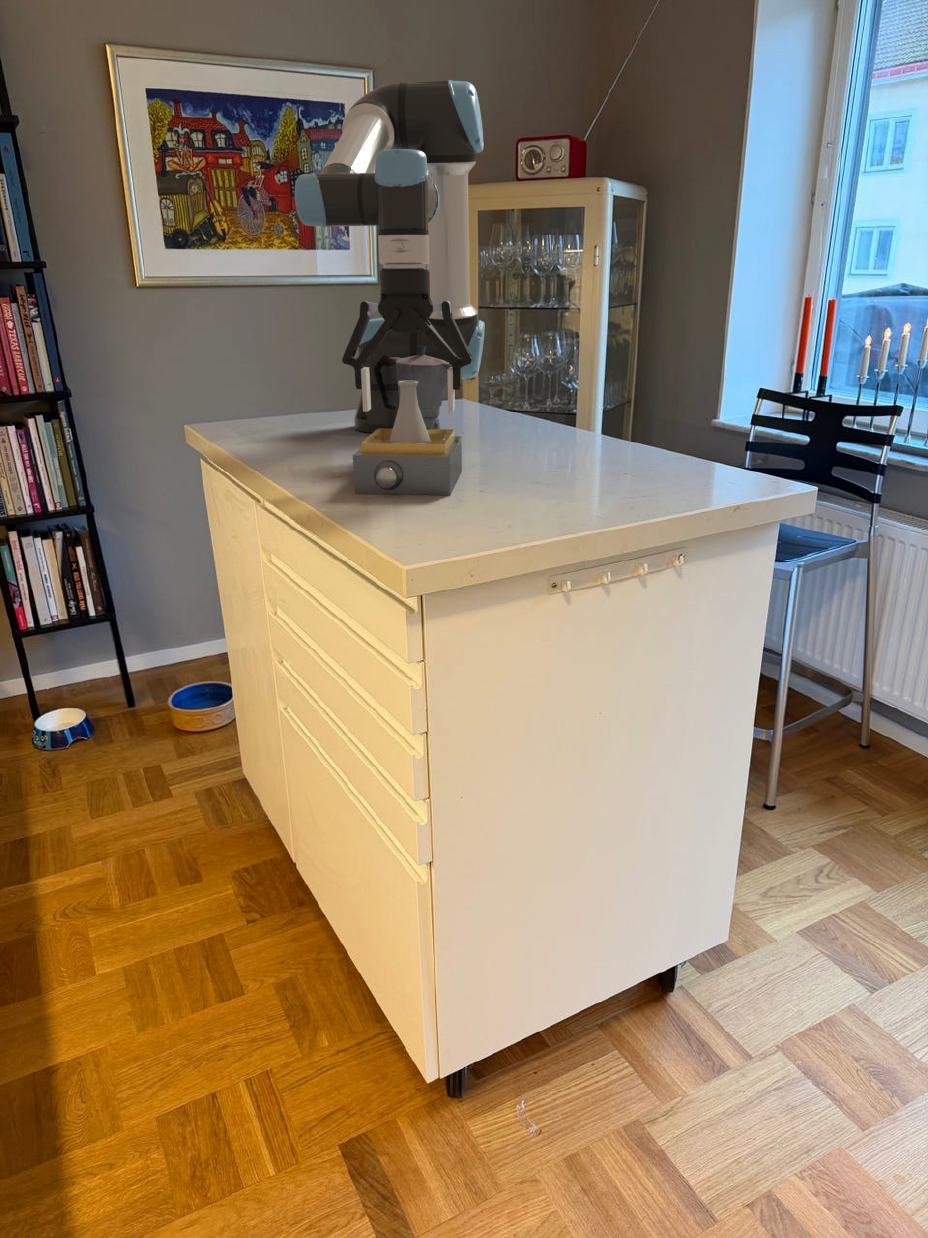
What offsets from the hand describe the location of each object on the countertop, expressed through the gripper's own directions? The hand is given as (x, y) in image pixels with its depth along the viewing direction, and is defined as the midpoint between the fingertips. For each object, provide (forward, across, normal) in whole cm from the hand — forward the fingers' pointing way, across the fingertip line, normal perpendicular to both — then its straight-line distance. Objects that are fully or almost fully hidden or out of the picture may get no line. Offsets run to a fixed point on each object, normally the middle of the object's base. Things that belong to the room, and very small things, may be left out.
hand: (409, 410), depth 138 cm
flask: (+6, 0, 0) cm, 6 cm away
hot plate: (+11, 0, -2) cm, 11 cm away
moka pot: (+12, -2, +19) cm, 22 cm away
